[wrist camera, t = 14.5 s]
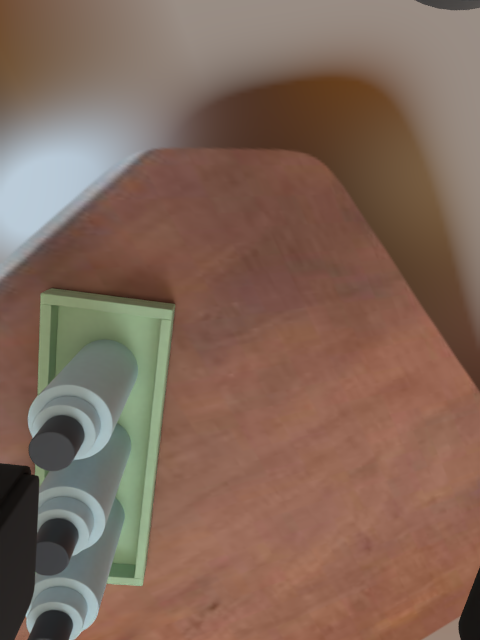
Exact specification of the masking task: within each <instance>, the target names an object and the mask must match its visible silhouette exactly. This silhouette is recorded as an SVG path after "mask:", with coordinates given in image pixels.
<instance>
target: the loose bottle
mask: <svg viewBox="0 0 480 640" xmlns="http://www.w3.org/2000/svg"><path fill="white" fill-rule="evenodd" d="M137 376H138V365H137V361H136V359H135V357H134V355H133V353H132V352H131V351H130V350H129V349H128V348H127V347H126V346H124V345H123V344H121V343H119V342H116V341H113V340H106V339H103V340H96V341H93V342H91V343H89V344H87V345H86V346H84V347H83V348H82V349H81V350H80V351H79V352H78V354H77V355H76V356H75V357H74V358H73V359H72V360H71V361H70V362H69V363H68V364H67V365H66V366H65V367H64V368H63V369H62V371H61V372H60V373H59V374H58V375H57V376H56V377H55V378H54V379H53V380H52V381H51V382H50V383H49V384H48V385H47V387H46V388H45V389H44V390H43V391H42V392H41V393H40V394H39V395H38V396H37V397H36V398H35V400H34V401H33V403H32V404H31V407H30V409H29V413H28V426H29V430H30V433H31V435H32V438H33V439H32V440H31V442H30V444H29V455H30V458H31V460H32V461H33V462H34V463H35V464H36V465H37V466H38V467H40V468H42V469H44V470H47V471H59V470H62V469H64V468H66V467H68V466H69V465H70V464H71V463H72V461H73V460H77V459H84V458H87V457H90V456H92V455H94V454H96V453H97V452H99V451H100V450H101V449H103V448H104V446H105V445H106V444H107V443H108V441H109V439H110V437H111V435H112V433H113V431H114V428H115V426H116V424H117V422H118V419H119V417H120V415H121V413H122V411H123V408H124V406H125V404H126V402H127V399H128V397H129V395H130V393H131V391H132V388H133V386H134V384H135V382H136V379H137Z"/></svg>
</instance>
